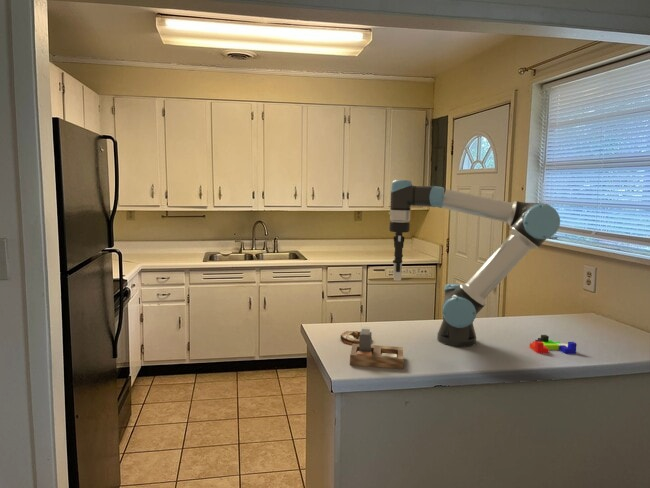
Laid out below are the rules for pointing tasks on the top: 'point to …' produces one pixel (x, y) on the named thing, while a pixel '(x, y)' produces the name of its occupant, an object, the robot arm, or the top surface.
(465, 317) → the robot arm
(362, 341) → the plug
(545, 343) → the building blocks
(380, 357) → the socket board
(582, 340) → the top surface
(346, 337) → the bagel
